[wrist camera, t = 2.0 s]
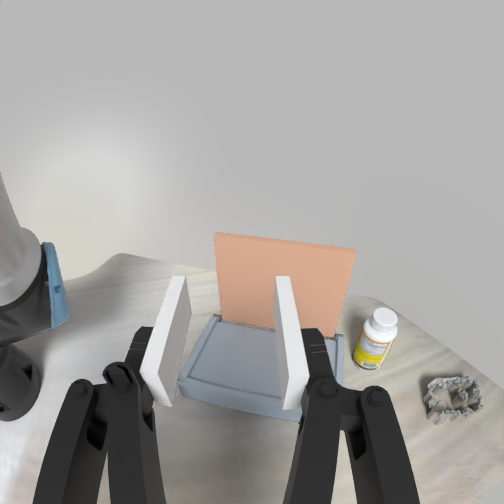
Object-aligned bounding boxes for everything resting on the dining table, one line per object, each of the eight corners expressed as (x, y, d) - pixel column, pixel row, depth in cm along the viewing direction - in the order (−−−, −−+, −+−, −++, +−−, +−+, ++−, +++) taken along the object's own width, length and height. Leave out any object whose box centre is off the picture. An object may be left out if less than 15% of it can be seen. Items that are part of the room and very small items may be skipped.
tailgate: (222, 319, 46) (213, 235, 37) (224, 313, 47) (217, 230, 38) (333, 337, 42) (355, 253, 33) (333, 330, 43) (354, 247, 34)
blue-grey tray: (182, 395, 36) (176, 380, 34) (215, 328, 48) (213, 312, 46) (333, 425, 31) (341, 413, 29) (339, 349, 44) (344, 333, 42)
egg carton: (425, 428, 28) (438, 415, 26) (419, 389, 34) (430, 374, 32) (475, 419, 26) (489, 406, 24) (466, 385, 32) (478, 371, 30)
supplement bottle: (370, 344, 44) (387, 300, 39) (387, 365, 39) (409, 322, 34) (345, 354, 42) (360, 309, 37) (362, 377, 38) (383, 334, 33)
